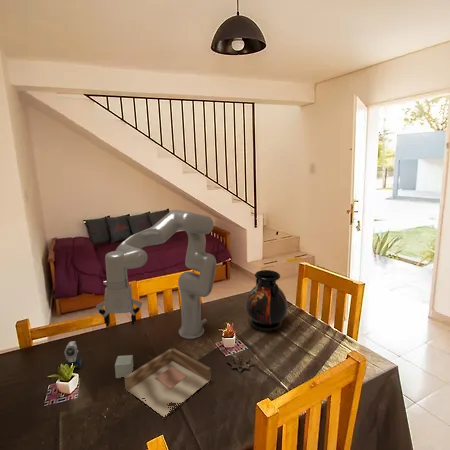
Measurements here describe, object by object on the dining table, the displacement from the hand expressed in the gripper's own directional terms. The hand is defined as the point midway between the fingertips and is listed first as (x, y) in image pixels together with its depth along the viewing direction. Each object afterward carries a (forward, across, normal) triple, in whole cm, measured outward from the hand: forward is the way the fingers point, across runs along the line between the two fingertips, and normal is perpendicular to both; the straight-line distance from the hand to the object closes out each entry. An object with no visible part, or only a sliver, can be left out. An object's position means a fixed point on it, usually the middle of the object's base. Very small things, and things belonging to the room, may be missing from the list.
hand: (120, 323), depth 129 cm
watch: (+22, -22, +6) cm, 32 cm away
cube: (+22, 0, 0) cm, 22 cm away
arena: (+22, +18, -10) cm, 30 cm away
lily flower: (+23, +48, 0) cm, 53 cm away
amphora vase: (+22, +67, +31) cm, 77 cm away
